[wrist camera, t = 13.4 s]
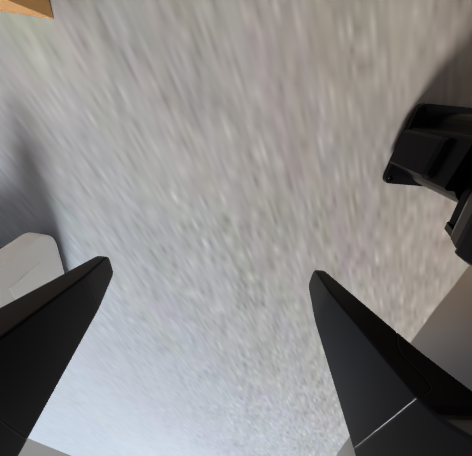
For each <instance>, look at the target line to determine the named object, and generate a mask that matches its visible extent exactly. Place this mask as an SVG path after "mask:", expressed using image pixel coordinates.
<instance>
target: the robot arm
mask: <svg viewBox="0 0 472 456" xmlns="http://www.w3.org/2000/svg"><path fill="white" fill-rule="evenodd" d="M422 108H423V111H422V113H420V110H421V109H422ZM389 176H391V178H390V179H388V178H389ZM383 180H384V181H385V182H386V183H392V184H404V185H416V186H425V187H427V188H429V189H431V190H433V191H435V192H437V193H439V194H441V195H443V196H445V197H447V198H449V199H451V200H453V201H455V202H457V203H458V204H457V206H456V208H455V210H454V212H453V215H452V217H451V219H450V221H449V222H447V224H446V226H445V230H446V231H447V233H448V234H449V236H450V237H451V240H452V242H453V244H454V246H455V247H456V250H455V253H456V254H457V255H458V256H459V257H460V258H461V259H462V260H464V261H465V262H466V263H467V264H469V265H471V266H472V108H465V107H455V106H445V105H435V104H424V103H423V104H419V105H417V106H416V107H415V109H414V110H413V113H412V115H411V117H410V119H409V121H408V124H407V126H406V128H405V130H404V132H403V133H402V136H401V138H400V140H399V142H398V144H397V146H396V149H395V151H394V153H393V155H392V157H391V160H390V163H389V165H388V167H387V169H386V171H385V174H384V176H383ZM112 275H113V270H112V267H111V263H110V260H109V258H108V257H104V256H97V257H95V258H93V259H91V260H89V261H87V262H85V263H84V264H82V265H80V266H78V267H76V268H74V269H72V270H70V271H69V272H67V273H65V274H63V275H61V276H59V277H57V278H55V279H54V280H52V281H50V282H48V283H46V284H44V285H42V286H40V287H39V288H37V289H35V290H33V291H31V292H29V293H27V294H25V295H24V296H22V297H20V298H18V299H16V300H14V301H12V302H10V303H9V304H7V305H5V306H3V307H1V308H0V456H18V455H19V453H20V451H21V449H22V448H23V446H24V444H25V442H26V440H27V439H26V438H28V436H29V435H30V433H31V431H32V429H33V427H34V425H35V424H36V422H37V420H38V418H39V416H40V414H41V413H42V411H43V409H44V407H45V405H46V404H47V402H48V400H49V398H50V396H51V394H52V393H53V391H54V389H55V387H56V385H57V384H58V382H59V380H60V378H61V376H62V374H63V373H64V371H65V369H66V367H67V365H68V363H69V362H70V360H71V358H72V356H73V354H74V353H75V351H76V349H77V347H78V345H79V343H80V342H81V340H82V338H83V336H84V334H85V333H86V331H87V329H88V327H89V325H90V323H91V322H92V320H93V318H94V316H95V314H96V312H97V310H98V309H99V306H100V304H101V302H102V299H103V297H104V295H105V292H106V290H107V287H108V285H109V283H110V280H111V278H112ZM309 290H310V296H311V301H312V307H313V312H314V317H315V322H316V325H317V329H318V332H319V335H320V338H321V342H322V345H323V348H324V352H325V355H326V358H327V362H328V365H329V368H330V372H331V375H332V378H333V381H334V385H335V388H336V391H337V395H338V398H339V401H340V405H341V408H342V411H343V415H344V418H345V421H346V424H347V428H348V431H349V434H350V438H351V441H352V444H353V447H354V451H355V455H356V456H472V391H471V390H469V389H468V388H467V387H465V386H464V385H463V384H461V383H460V382H459V381H457V380H456V379H455V378H454V377H452V376H451V375H450V374H448V373H447V372H446V371H444V370H443V369H442V368H440V367H439V366H438V365H436V364H435V363H434V362H433V361H431V360H430V359H429V358H427V357H426V356H425V355H423V354H422V353H421V352H420V351H419V350H417V349H416V348H415V347H413V345H411V344H410V343H409V342H408V341H406V340H405V339H404V338H403V337H402V336H401V335H399V334H398V333H396V331H395V330H393V329H392V328H391V327H390V326H389V325H387V324H386V323H385V322H384V321H383V320H382V319H380V318H379V317H378V316H377V315H376V314H374V313H373V312H372V311H371V310H370V309H369V308H367V307H366V306H365V305H364V304H363V303H362V302H360V301H359V300H358V299H357V298H356V297H354V296H353V295H352V294H351V293H350V292H349V291H347V290H346V289H345V288H344V287H343V286H341V285H340V284H339V283H338V282H337V281H336V280H334V279H333V278H332V277H331V276H330V275H328V274H327V273H326V272H325V271H320V270H315V271H314V272H313V275H312V277H311V280H310V283H309Z"/></svg>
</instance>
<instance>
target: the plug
mask: <svg viewBox="0 0 472 456" xmlns="http://www.w3.org/2000/svg"><path fill="white" fill-rule="evenodd" d="M0 11H4V12H11V13H18V14H25V15H32V16H38V17H45V18H52V19H53V14H52V10H51V6H50V2H49V0H0Z"/></svg>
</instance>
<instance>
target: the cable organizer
mask: <svg viewBox="0 0 472 456" xmlns="http://www.w3.org/2000/svg"><path fill="white" fill-rule="evenodd" d="M63 274H65V273H64V270H63V266H62V262H61V258H60V255H59V251H58V247H57V244H56V242H55V240H54V239H53V238H52V237H51V236H49V235H44V234H38V233H32V232H27V233H24V234H23V235H21V236H19V237H18V238H16V239H15V240H13V241H12V242H10V243H9V244H7V245H6V246H4V247H3V248H1V249H0V308H1V307H3V306H5V305H7V304H9V303H10V302H12V301H14V300H16V299H18V298H20V297H22V296H24V295H25V294H27V293H29V292H31V291H33V290H35V289H37V288H39V287H40V286H42V285H44V284H46V283H48V282H50V281H52V280H54V279H55V278H57V277H59V276H61V275H63Z"/></svg>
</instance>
